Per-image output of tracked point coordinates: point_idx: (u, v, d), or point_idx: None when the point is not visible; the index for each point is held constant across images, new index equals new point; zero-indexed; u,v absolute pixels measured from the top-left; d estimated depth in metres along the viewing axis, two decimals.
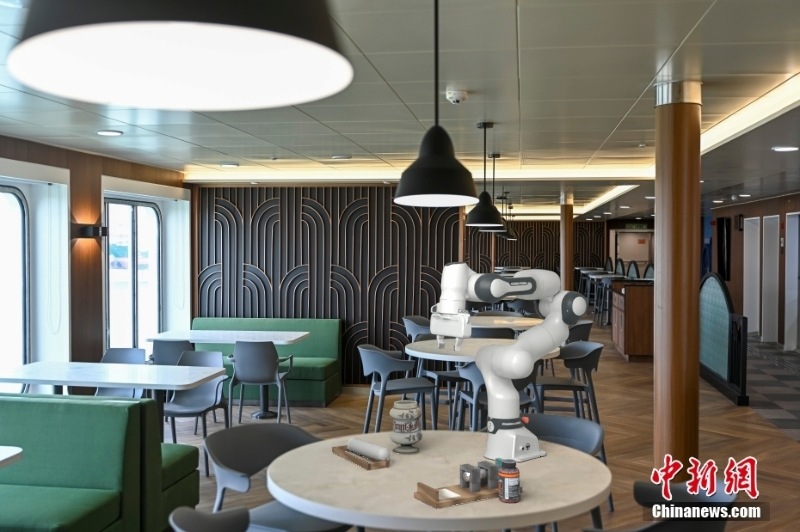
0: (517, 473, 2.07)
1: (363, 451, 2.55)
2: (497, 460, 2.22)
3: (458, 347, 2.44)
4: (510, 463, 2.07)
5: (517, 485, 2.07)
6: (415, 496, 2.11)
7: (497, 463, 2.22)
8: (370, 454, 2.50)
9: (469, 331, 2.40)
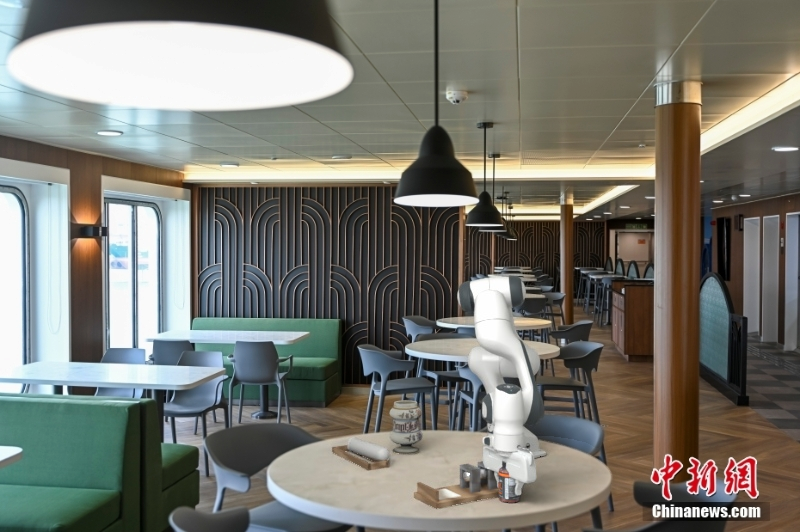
0: None
1: (363, 451, 2.55)
2: None
3: (519, 490, 2.05)
4: None
5: None
6: (415, 496, 2.11)
7: None
8: (370, 454, 2.50)
9: (534, 474, 2.01)
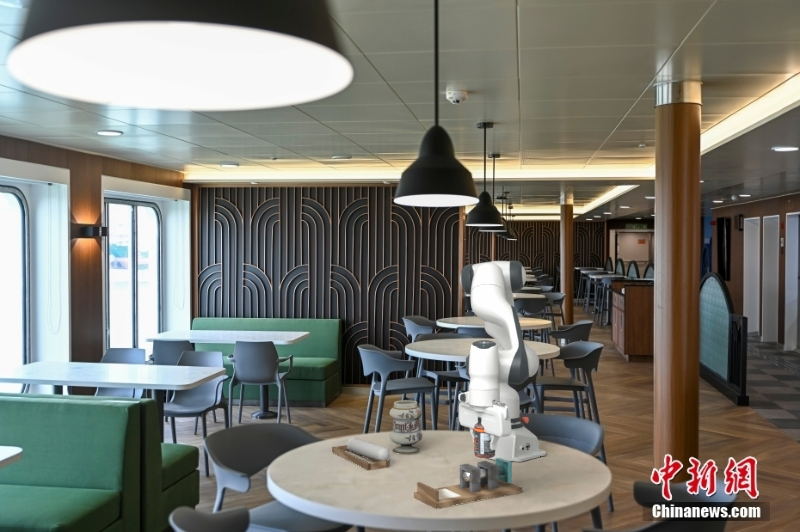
0: None
1: (363, 451, 2.55)
2: (497, 460, 2.22)
3: (494, 445, 2.05)
4: None
5: None
6: (415, 496, 2.11)
7: (497, 463, 2.22)
8: (370, 454, 2.50)
9: (509, 428, 2.01)
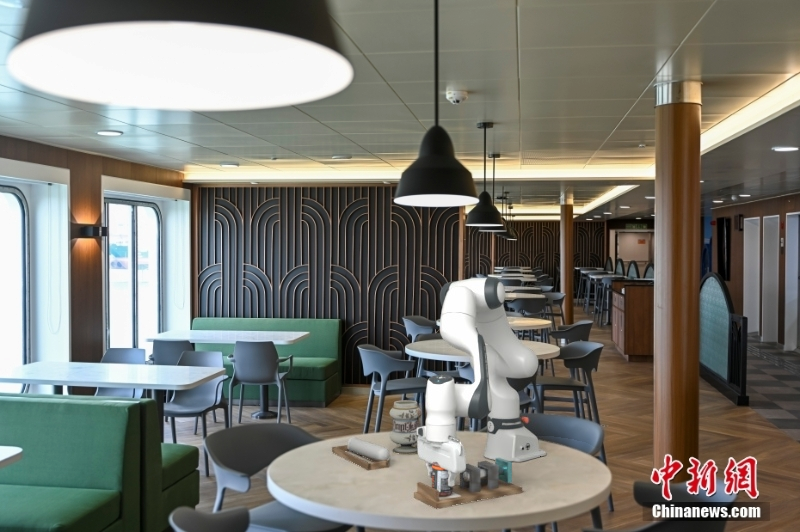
0: None
1: (363, 451, 2.55)
2: (497, 460, 2.22)
3: (452, 481, 2.05)
4: None
5: None
6: (415, 496, 2.11)
7: (497, 463, 2.22)
8: (370, 454, 2.50)
9: (463, 464, 2.01)
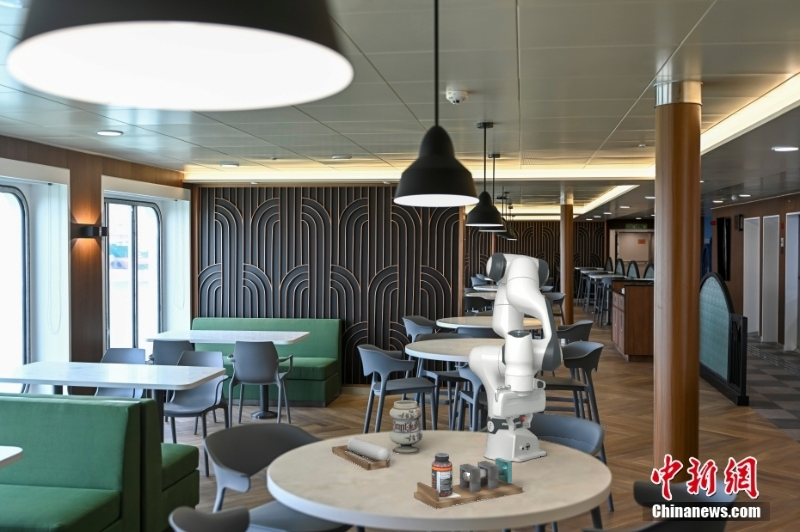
0: (449, 467, 2.07)
1: (363, 451, 2.55)
2: (497, 460, 2.22)
3: (510, 426, 2.21)
4: (442, 457, 2.07)
5: (449, 479, 2.07)
6: (415, 496, 2.11)
7: (497, 463, 2.22)
8: (370, 454, 2.50)
9: (498, 410, 2.17)
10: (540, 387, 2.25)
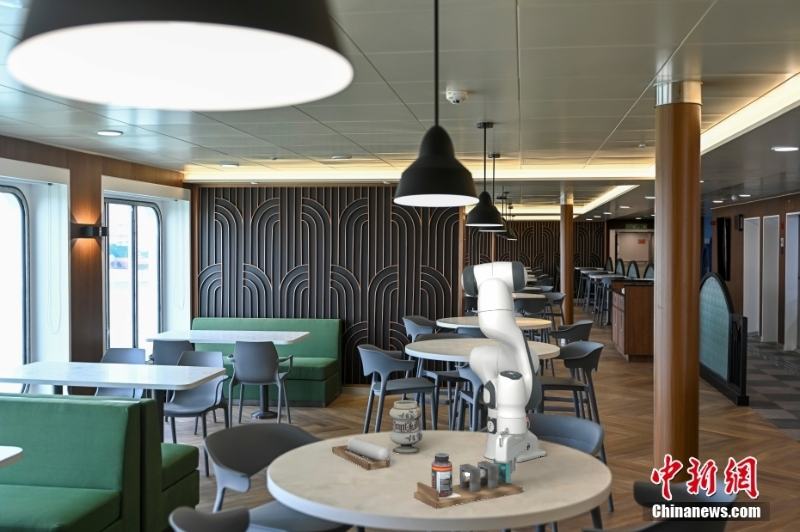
0: (449, 467, 2.07)
1: (363, 451, 2.55)
2: (495, 460, 2.21)
3: (510, 468, 2.20)
4: (442, 457, 2.07)
5: (449, 479, 2.07)
6: (415, 496, 2.11)
7: (495, 463, 2.21)
8: (370, 454, 2.50)
9: (503, 456, 2.13)
10: (527, 427, 2.26)
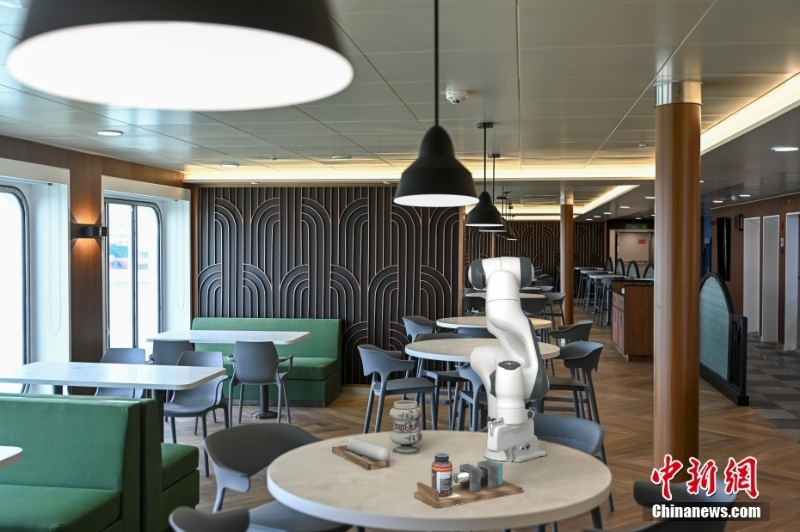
0: (449, 467, 2.07)
1: (363, 451, 2.55)
2: None
3: (508, 457, 2.22)
4: (442, 457, 2.07)
5: (449, 479, 2.07)
6: (415, 496, 2.11)
7: None
8: (370, 454, 2.50)
9: (493, 445, 2.15)
10: (530, 417, 2.25)
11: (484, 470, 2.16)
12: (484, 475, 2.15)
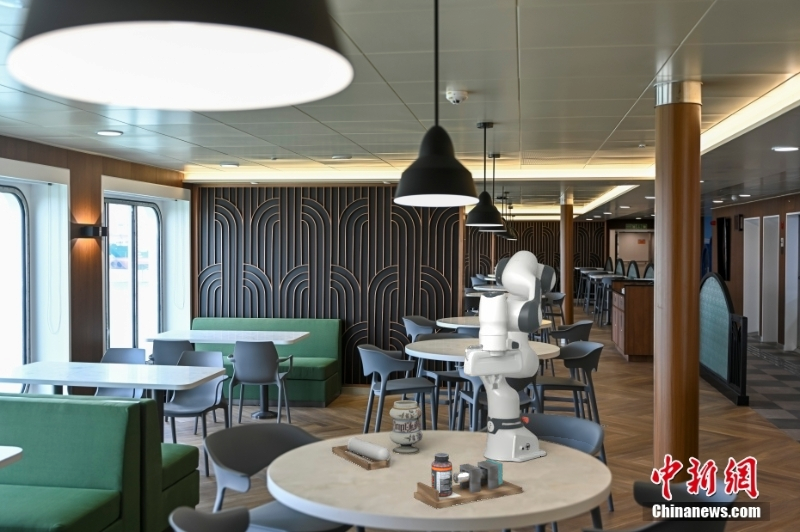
0: (449, 467, 2.07)
1: (363, 451, 2.55)
2: None
3: (490, 385, 2.24)
4: (442, 457, 2.07)
5: (449, 479, 2.07)
6: (415, 496, 2.11)
7: None
8: (370, 454, 2.50)
9: (468, 369, 2.20)
10: (515, 348, 2.25)
11: (484, 470, 2.16)
12: (484, 475, 2.15)
